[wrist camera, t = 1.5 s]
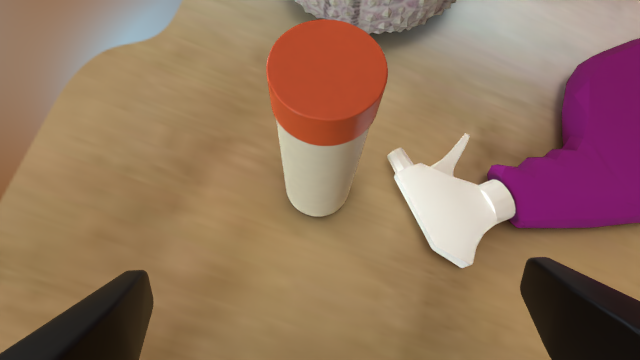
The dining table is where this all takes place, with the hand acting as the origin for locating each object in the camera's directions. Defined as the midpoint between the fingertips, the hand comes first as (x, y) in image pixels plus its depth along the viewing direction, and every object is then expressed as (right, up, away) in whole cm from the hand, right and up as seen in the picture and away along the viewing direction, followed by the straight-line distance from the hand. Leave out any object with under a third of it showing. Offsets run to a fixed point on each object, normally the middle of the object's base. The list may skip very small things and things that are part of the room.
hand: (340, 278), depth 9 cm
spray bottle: (+16, +4, +16) cm, 23 cm away
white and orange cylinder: (-1, +2, +14) cm, 14 cm away
